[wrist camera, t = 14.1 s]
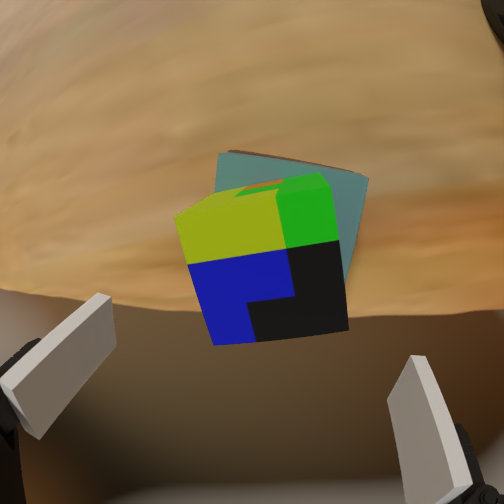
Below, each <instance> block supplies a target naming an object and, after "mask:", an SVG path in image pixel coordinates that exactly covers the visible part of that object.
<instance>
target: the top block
mask: <svg viewBox="0 0 504 504" xmlns="http://www.w3.org/2000/svg"><path fill="white" fill-rule="evenodd" d="M319 172H320V173H321V175H322V176H323V177H324V178H325V180H326V181H327V182H328V183H329V185H330V186H331V191H332V197H333V203H334V209H335V215H336V222H337V228H338V235H339V242H340V250H341V258H342V266H343V274H344V283H345V281H346V278H347V274H348V270H349V266H350V262H351V258H352V254H353V250H354V246H355V242H356V237H357V233H358V229H359V224H360V220H361V215H362V210H363V206H364V201H365V196H366V191H367V185H368V180H369V178H368V177H366V176H364V175H362V174H359V173H355V172H350V171H345V170H340V169H335V168H330V167H324V166H319V165H314V164H308V163H302V162H296V161H290V160H284V159H277V158H270V157H263V156H256V155H248V154H240V153H232V152H227V153H219V155H218V164H217V173H216V182H215V192H214V193H217V192H221V191H226V190H230V189H235V188H240V187H245V186H249V185H254V184H259V183H264V182H269V181H275V180H280V179H285V178H291V177H296V176H302V175H307V174H313V173H319Z"/></svg>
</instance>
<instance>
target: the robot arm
mask: <svg viewBox="0 0 504 504" xmlns="http://www.w3.org/2000/svg"><path fill="white" fill-rule="evenodd" d="M481 2H482V6H483V9H484V12H485V14H486V16H487V18H488V20H489V22H490V24H491V26H492V28H493V29H494V31H495V32H496V34H497V35H498V37H499V38H500V39H501V41H502V42H503V43H504V0H481ZM116 345H117V343H116V335H115V328H114V319H113V310H112V300H111V296H107V295H104V294H101V293H97V294H95V295H94V296H93V297H92V298H90V299H89V300H88V301H87V302H86V303H84V304H83V305H82V306H81V307H80V308H78V309H77V310H76V311H75V312H74V313H72V314H71V315H70V316H69V317H68V318H67V319H65V320H64V321H63V322H62V323H61V324H59V325H58V326H57V327H56V328H55V329H54V330H52V331H51V332H50V333H49V334H48V335H47V336H46V337H44V338H43V339H40V338H37V339H35V340H33V341H31V342H28V343H27V344H26V345H24V347H22V348H21V349H20V351H18V352H17V353H15V354H14V355H13V357H11V358H10V359H9V360H8V361H6V362H5V363H4V364H3V365H2V366H1V367H0V504H27V503H26V497H25V492H24V486H23V479H22V470H21V461H20V452H19V434H18V428H17V426H16V425H17V424H18V423H19V422H21V424H22V426H23V427H24V429H25V431H27V432H28V433H30V434H31V435H33V436H34V437H36V438H37V439H39V440H40V438H41V437H42V436H43V434H44V433H45V432H46V431H47V429H48V428H49V427H50V426H51V424H52V423H53V422H54V421H55V419H56V418H57V417H58V416H59V414H60V413H61V412H62V411H63V409H64V408H65V407H66V406H67V404H68V403H69V402H70V400H71V399H72V398H73V397H74V396H75V394H76V393H77V392H78V391H79V389H80V388H81V387H82V386H83V385H84V383H85V382H86V381H87V380H88V379H89V377H90V376H91V375H92V374H93V373H94V371H95V370H96V369H97V368H98V367H99V365H100V364H101V363H102V362H103V361H104V360H105V358H106V357H107V356H108V355H109V353H110V352H111V351H112V350H113V349H114V348H115V347H116ZM387 402H388V406H389V411H390V415H391V420H392V425H393V430H394V435H395V440H396V445H397V449H398V456H399V461H400V467H401V473H402V479H403V485H404V493H405V500H406V504H504V495H502V494H499V493H498V491H497V489H496V488H494V487H493V486H490V485H486V484H485V482H484V480H483V476H482V473H481V470H480V467H479V464H478V461H477V458H476V455H475V454H474V449H473V446H472V445H471V441H470V439H469V436H468V433H467V432H466V430H465V429H464V428H463V427H462V426H461V424H453V422H452V419H451V417H450V414H449V411H448V409H447V406H446V404H445V401H444V399H443V396H442V394H441V391H440V389H439V387H438V384H437V382H436V380H435V377H434V375H433V373H432V371H431V368H430V366H429V364H428V361H427V359H426V357H425V356H415V355H410V358H409V359H408V361H407V363H406V366H405V367H404V369H403V371H402V373H401V375H400V377H399V379H398V381H397V383H396V384H395V386H394V388H393V390H392V392H391V393H390V395H389V397H388V399H387Z"/></svg>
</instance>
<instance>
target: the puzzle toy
mask: <svg viewBox="0 0 504 504" xmlns="http://www.w3.org/2000/svg"><path fill="white" fill-rule="evenodd" d="M174 220H175V223H176V227H177V231H178V234H179V238H180V241H181V245H182V248H183V251H184V255H185V258H186V262H187V265H188V268H189V272H190V275H191V278H192V281H193V285H194V288H195V291H196V294H197V297H198V300H199V303H200V306H201V310H202V313H203V316H204V318H205V322H206V325H207V327H208V330H209V333H210V336H211V339H212V342H213V345H228V344H241V343H252V342H262V341H272V340H282V339H290V338H299V337H307V336H314V335H322V334H329V333H335V332H342V331H348V330H349V326H348V314H347V303H346V293H345V283H344V274H343V266H342V258H341V250H340V242H339V235H338V228H337V222H336V215H335V209H334V203H333V197H332V191H331V186H330V185H329V183H328V182H327V181H326V180H325V178H324V177H323V176H322V175H321V173H320V172H319V173H313V174H307V175H302V176H296V177H291V178H285V179H280V180H275V181H269V182H264V183H259V184H254V185H249V186H245V187H240V188H235V189H230V190H226V191H221V192H217V193H214V194H212V195H210V196H208V197H207V198H205V199H203V200H201V201H200V202H198V203H196V204H195V205H193V206H191V207H190V208H188V209H186V210H185V211H183V212H181V213H180V214H178V215H176V216H175V217H174Z"/></svg>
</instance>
